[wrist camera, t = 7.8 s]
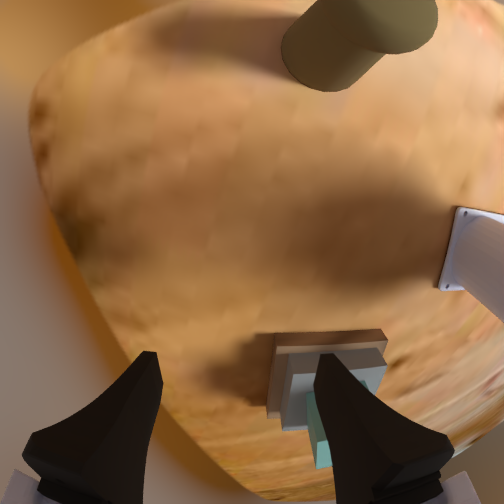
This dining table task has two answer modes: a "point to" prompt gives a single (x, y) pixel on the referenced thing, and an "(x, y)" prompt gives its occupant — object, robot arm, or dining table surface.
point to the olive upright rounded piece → (353, 38)
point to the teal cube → (318, 433)
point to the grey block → (303, 374)
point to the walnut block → (313, 343)
